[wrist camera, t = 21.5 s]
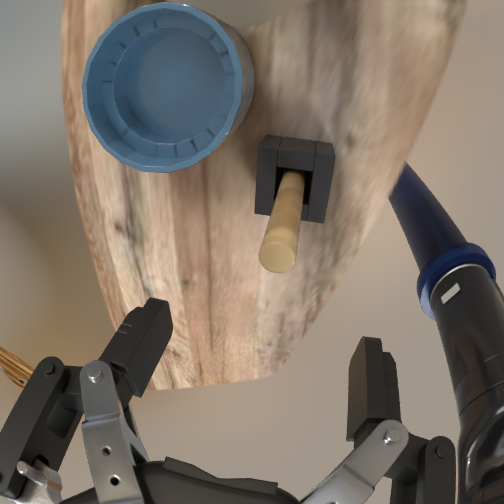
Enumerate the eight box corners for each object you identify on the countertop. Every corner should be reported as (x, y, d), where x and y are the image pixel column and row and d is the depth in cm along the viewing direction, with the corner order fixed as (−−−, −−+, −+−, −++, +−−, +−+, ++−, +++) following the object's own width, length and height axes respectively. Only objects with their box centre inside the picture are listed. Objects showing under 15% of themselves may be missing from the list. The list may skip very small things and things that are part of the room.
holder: (332, 143, 26) (335, 156, 23) (323, 202, 30) (323, 223, 26) (266, 134, 27) (258, 146, 23) (262, 193, 31) (254, 213, 27)
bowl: (259, 8, 20) (246, -6, 16) (251, 159, 29) (238, 179, 24) (114, 24, 22) (81, 22, 18) (119, 152, 31) (90, 169, 26)
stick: (307, 160, 28) (298, 245, 16) (304, 179, 29) (293, 276, 17) (286, 157, 28) (259, 239, 16) (284, 177, 29) (257, 270, 17)
